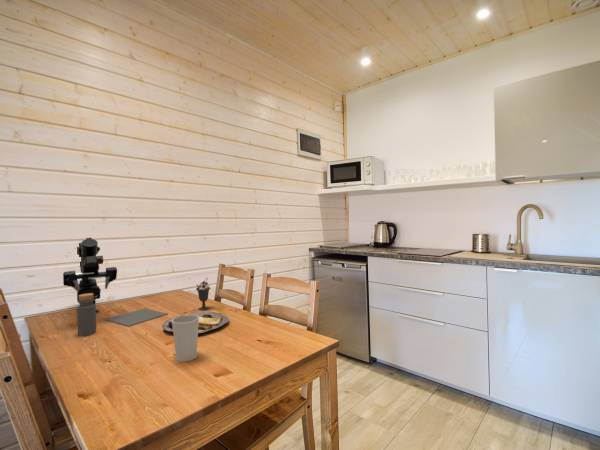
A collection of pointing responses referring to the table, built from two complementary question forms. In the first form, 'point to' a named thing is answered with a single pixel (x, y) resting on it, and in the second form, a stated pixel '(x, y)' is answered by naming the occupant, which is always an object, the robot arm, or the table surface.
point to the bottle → (86, 315)
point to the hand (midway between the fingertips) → (93, 289)
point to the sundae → (203, 293)
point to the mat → (136, 317)
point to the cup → (185, 337)
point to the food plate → (202, 321)
